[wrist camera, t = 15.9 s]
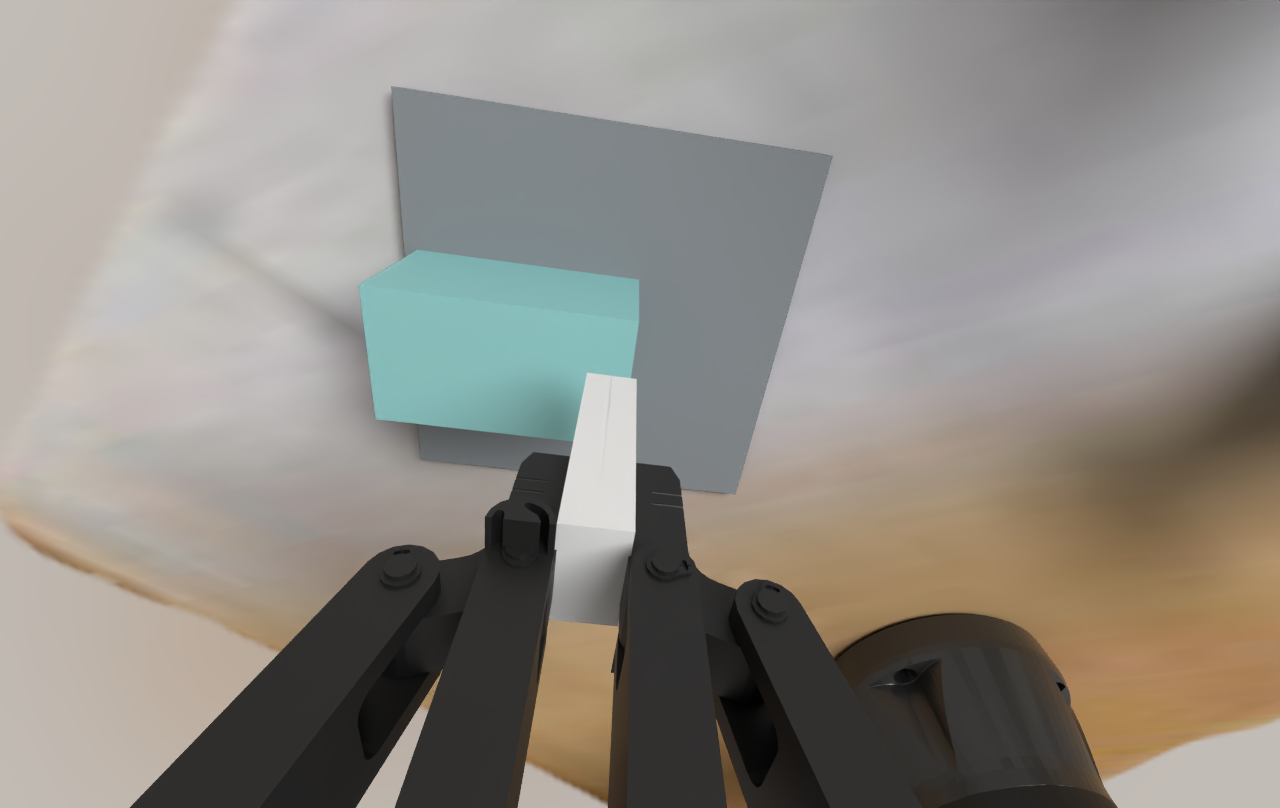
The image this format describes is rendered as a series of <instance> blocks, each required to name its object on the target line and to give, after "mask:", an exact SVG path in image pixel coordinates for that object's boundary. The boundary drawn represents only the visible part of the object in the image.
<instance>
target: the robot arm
mask: <svg viewBox="0 0 1280 808" xmlns="http://www.w3.org/2000/svg"><path fill="white" fill-rule="evenodd" d="M636 398H637V379H633V378H625V377H617V376H610V375H602V374H594V373H587V376H586V381H585V386H584V390H583V395H582V400H581V405H580V410H579V415H578V420H577V425H576V430H575V435H574V440H573V445H572V450H571V455H570V456H563V455H555V454H546V453H538V452H533V453H532V454H531V455H529V456H528V457H527V458H526V459H525V460H524V461H523V462H522V463H521V465H520V468H519V471H518V474H517V477H516V480H515V483H514V486H513V490H512V492H511V495H510V498H509V500H506V501H502V502H500V503H498V504H497V505H495V506H494V507H492V508H491V509H490V510H489V512H488V513H487V515H486V516H485V548H484V549H482V550H481V551H479V552H476V553H474V554H472V555H469V556H465V557H460V558H454V559H447V560H441V561H439V559H438V558H437V557H436V555H435V554H434V552H432V551H430V550H428V549H426V548H425V547H422V546H415V545H403V546H396V547H392V548H390V549H387V550H385V551H382V552H380V553H379V554H377V555H376V556H375V557H373V558H372V559H371V560H369V561H368V562H367V563H366V564H365V565H364V566H363V567H362V568H361V569H360V570H359V571H358V572H357V573H356V574H355V575H354V576H353V577H352V579H351V580H350V581H349V582H348V583H347V584H346V585H345V586H344V587H343V588H342V589H341V590H340V591H339V592H338V593H337V594H336V595H335V596H334V597H333V598H332V599H331V600H330V601H329V602H328V603H327V604H326V605H325V606H324V607H323V608H322V610H321V611H320V612H319V613H318V614H317V615H316V616H315V617H314V618H313V619H312V620H311V621H310V622H309V623H308V624H307V625H306V626H305V627H304V628H303V629H302V630H301V631H300V632H299V633H298V634H297V635H296V636H295V637H294V638H293V639H292V641H291V642H290V643H289V644H288V645H287V646H286V647H285V648H284V649H283V650H282V651H281V652H280V653H279V654H278V655H277V656H276V657H275V658H274V659H273V660H272V661H271V662H270V663H269V664H268V665H267V666H266V667H265V668H264V670H263V671H262V672H261V673H260V674H259V675H258V676H257V677H256V678H255V679H254V680H253V681H252V682H251V683H250V684H249V685H248V686H247V687H246V688H245V689H244V690H243V691H242V692H241V693H240V694H239V695H238V696H237V697H236V698H235V700H233V701H232V702H231V704H230V705H229V706H228V707H227V708H226V709H225V710H224V711H223V712H222V713H221V714H220V715H219V716H218V717H217V718H216V719H215V720H214V721H213V722H212V723H211V724H210V725H209V726H208V727H207V728H206V729H205V730H204V731H203V732H202V733H201V735H200V736H199V737H198V738H197V739H196V740H195V741H194V742H193V743H192V744H191V745H190V746H189V747H188V748H187V749H186V750H185V751H184V752H183V753H182V754H181V755H180V756H179V757H178V758H177V759H176V760H175V761H174V763H172V764H171V766H170V767H169V768H168V769H167V770H166V771H165V772H164V773H163V774H162V775H161V776H160V777H159V778H158V779H157V780H156V781H155V782H154V783H153V784H152V785H151V786H150V787H149V789H147V790H146V791H145V792H144V794H143V795H141V796H140V798H139V799H138V800H137V801H136V802H135V803H134V804H133V805H132V806H131V807H130V808H356V806H357V805H358V803H359V802H360V800H361V798H362V797H363V795H364V794H365V792H366V790H367V789H368V787H369V786H370V784H371V783H372V781H373V779H374V778H375V776H376V775H377V773H378V771H379V770H380V768H381V767H382V765H383V764H384V762H385V760H386V759H387V757H388V756H389V754H390V752H391V751H392V749H393V748H394V746H395V745H396V743H397V741H398V740H399V738H400V736H401V735H402V733H403V732H404V730H405V729H406V727H407V725H408V724H409V722H410V721H411V719H412V718H413V716H414V714H415V713H416V711H417V710H418V708H419V706H420V705H421V703H422V702H423V700H424V699H425V697H426V695H427V694H428V692H429V691H430V689H431V687H432V686H433V684H434V683H435V681H436V680H437V678H438V676H439V675H440V673H441V671H442V669H443V671H442V674H441V677H440V680H439V682H438V685H437V688H436V691H435V694H434V697H433V700H432V702H431V705H430V708H429V711H428V714H427V717H426V720H425V722H424V725H423V728H422V731H421V734H420V737H419V740H418V742H417V745H416V748H415V751H414V754H413V757H412V760H411V763H410V765H409V769H408V771H407V774H406V777H405V780H404V783H403V786H402V788H401V791H400V794H399V797H398V800H397V803H396V805H395V808H517V807H518V801H519V795H520V790H521V784H522V778H523V773H524V767H525V761H526V755H527V749H528V744H529V738H530V732H531V726H532V720H533V715H534V709H535V703H536V697H537V691H538V686H539V680H540V674H541V668H542V662H543V657H544V651H545V645H546V635H547V626H548V620H558V621H569V622H579V623H590V624H601V625H611V626H618V622H619V633H618V638H617V644H616V649H615V654H614V659H613V665H612V670H611V673H614V689H613V711H612V732H611V753H610V774H609V796H608V808H727V804H726V796H725V788H724V780H723V772H722V764H721V756H720V748H719V740H718V732H717V724H716V719H717V722H718V724H719V727H720V730H721V733H722V736H723V739H724V741H725V744H726V747H727V750H728V753H729V756H730V758H731V761H732V764H733V767H734V770H735V772H736V775H737V778H738V781H739V784H740V787H741V789H742V792H743V795H744V798H745V801H746V803H747V806H748V808H1118V807H1117V806H1116V805H1115V803H1114V802H1113V800H1112V799H1111V797H1110V796H1109V794H1108V793H1107V791H1106V789H1105V788H1104V785H1103V783H1102V781H1101V778H1100V776H1099V773H1098V770H1097V767H1096V764H1095V762H1094V759H1093V756H1092V754H1091V751H1090V748H1089V746H1088V743H1087V741H1086V738H1085V736H1084V733H1083V731H1082V728H1081V726H1080V724H1079V722H1078V720H1077V717H1076V715H1075V713H1074V711H1073V709H1072V708H1071V705H1070V703H1071V700H1070V694H1069V690H1068V687H1067V685H1066V682H1065V680H1064V678H1063V676H1062V674H1061V673H1060V671H1059V669H1058V668H1057V667H1056V665H1055V664H1054V663H1053V661H1052V660H1051V659H1050V657H1049V656H1048V655H1047V653H1046V652H1045V651H1044V649H1043V648H1042V647H1041V646H1040V644H1039V643H1038V642H1037V640H1036V639H1035V638H1034V637H1033V636H1032V635H1031V634H1029V633H1028V632H1027V631H1025V630H1024V629H1022V628H1021V627H1019V626H1017V625H1015V624H1012V623H1010V622H1007V621H1004V620H1001V619H997V618H993V617H988V616H981V615H969V614H954V615H940V616H932V617H926V618H921V619H916V620H912V621H908V622H905V623H901V624H898V625H895V626H892V627H890V628H887V629H884V630H882V631H880V632H878V633H875V634H873V635H871V636H869V637H867V638H866V639H864V640H862V641H860V642H859V643H857V644H856V645H854V646H853V647H851V648H850V649H848V650H847V651H846V652H845V653H843V654H842V655H841V656H840V657H839V658H838V659H837V660H836V661H835V660H834V659H833V657H832V655H831V654H830V652H829V650H828V649H827V647H826V645H825V644H824V642H823V640H822V639H821V637H820V635H819V634H818V632H817V630H816V629H815V627H814V625H813V624H812V622H811V620H810V619H809V617H808V615H807V614H806V612H805V610H804V609H803V607H802V605H801V604H800V602H799V601H798V600H797V599H796V597H795V596H794V595H793V594H792V593H791V592H790V591H788V590H787V589H785V588H784V587H783V586H781V585H779V584H777V583H774V582H771V581H768V580H758V579H754V580H751V581H747V582H744V583H743V584H742V585H741V586H740V587H739V588H738V589H737V590H736V589H734V588H731V587H728V586H726V585H723V584H720V583H718V582H716V581H714V580H712V579H710V578H708V577H707V576H705V575H704V574H702V573H701V572H700V571H699V570H698V569H697V568H696V566H695V563H694V561H693V560H692V559H691V558H690V557H689V553H688V547H687V538H686V529H685V520H684V511H683V502H682V497H681V495H682V494H681V485H680V479H679V478H678V477H677V475H676V474H675V472H674V471H673V469H672V468H671V467H668V466H660V465H651V464H643V463H636Z"/></svg>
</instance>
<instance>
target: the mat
mask: <svg viewBox="0 0 1280 808" xmlns="http://www.w3.org/2000/svg"><path fill="white" fill-rule="evenodd" d="M391 89H392V102H393V115H394V128H395V140H396V153H397V166H398V178H399V191H400V204H401V217H402V229H403V242H404V255H405V257H406V256H408V255H409V254H411V253H413V252H414V251H416V250H423V251H430V252H438V253H445V254H453V255H460V256H467V257H475V258H482V259H490V260H497V261H504V262H512V263H519V264H527V265H534V266H542V267H549V268H556V269H564V270H571V271H579V272H586V273H593V274H601V275H608V276H616V277H623V278H630V279H638V280H639V325H638V332H637V339H636V346H635V353H634V360H633V367H632V374H631V378H633V379H637V398H636V463H643V464H651V465H660V466H668V467H671V468H672V469H673V471H674V472H675V474H676V475H677V477H678V478H679V479H680V485H681V488H683V489H692V490H701V491H710V492H719V493H728V494H736V490H737V487H738V483H739V480H740V476H741V473H742V470H743V466H744V463H745V459H746V456H747V452H748V449H749V445H750V442H751V438H752V435H753V431H754V428H755V424H756V421H757V417H758V414H759V410H760V407H761V403H762V400H763V397H764V393H765V390H766V386H767V383H768V379H769V376H770V372H771V369H772V365H773V362H774V358H775V355H776V351H777V348H778V344H779V341H780V337H781V334H782V330H783V327H784V323H785V320H786V317H787V313H788V310H789V306H790V303H791V299H792V296H793V292H794V289H795V285H796V282H797V278H798V275H799V271H800V268H801V264H802V261H803V257H804V254H805V250H806V247H807V244H808V240H809V237H810V233H811V230H812V226H813V223H814V219H815V216H816V212H817V209H818V205H819V202H820V198H821V195H822V191H823V188H824V184H825V181H826V177H827V174H828V171H829V167H830V164H831V160H832V157H833V156H830V155H825V154H819V153H812V152H806V151H799V150H793V149H787V148H780V147H774V146H768V145H761V144H755V143H749V142H742V141H736V140H730V139H723V138H717V137H711V136H704V135H698V134H692V133H685V132H679V131H673V130H666V129H660V128H654V127H647V126H641V125H635V124H628V123H622V122H616V121H609V120H603V119H597V118H590V117H584V116H578V115H571V114H565V113H558V112H552V111H546V110H539V109H533V108H527V107H520V106H514V105H508V104H501V103H495V102H489V101H482V100H476V99H470V98H463V97H457V96H451V95H444V94H438V93H432V92H425V91H419V90H413V89H406V88H400V87H392V86H391ZM418 433H419V445H420V458H421V460H430V461H439V462H448V463H457V464H466V465H475V466H484V467H493V468H502V469H511V470H519V468H520V465H521V463H522V462H523V461H524V460H525V459H526V458H527V457H528V456H529V455H531V454H532V453H533V452H538V453H546V454H555V455H563V456H570V455H571V450H572V445H573V441H564V440H555V439H547V438H538V437H529V436H520V435H511V434H502V433H494V432H485V431H476V430H467V429H458V428H449V427H440V426H432V425H423V424H418Z"/></svg>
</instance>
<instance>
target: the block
mask: <svg viewBox="0 0 1280 808" xmlns="http://www.w3.org/2000/svg"><path fill="white" fill-rule="evenodd" d="M359 292H360V300H361V308H362V316H363V324H364V331H365V339H366V347H367V355H368V363H369V371H370V379H371V387H372V395H373V402H374V410H375V418H376V419H379V420H387V421H396V422H405V423H414V424H423V425H432V426H440V427H449V428H458V429H467V430H476V431H485V432H494V433H502V434H511V435H520V436H529V437H538V438H547V439H555V440H564V441H573V440H574V435H575V430H576V425H577V420H578V415H579V410H580V405H581V400H582V395H583V390H584V386H585V381H586V376H587V373H594V374H602V375H610V376H617V377H625V378H631V374H632V367H633V360H634V353H635V346H636V339H637V332H638V325H639V280H638V279H630V278H623V277H616V276H608V275H601V274H593V273H586V272H579V271H571V270H564V269H556V268H549V267H542V266H534V265H527V264H519V263H512V262H504V261H497V260H490V259H482V258H475V257H467V256H460V255H453V254H445V253H438V252H430V251H423V250H416V251H414V252H413V253H411V254H409V255H408V256H406V257H404V258H403V259H401V260H399V261H398V262H396V263H394V264H393V265H391V266H389V267H388V268H386V269H384V270H383V271H381V272H379V273H378V274H376V275H374V276H373V277H371V278H369V279H368V280H366V281H364V282H363V283H361V284H359Z"/></svg>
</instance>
